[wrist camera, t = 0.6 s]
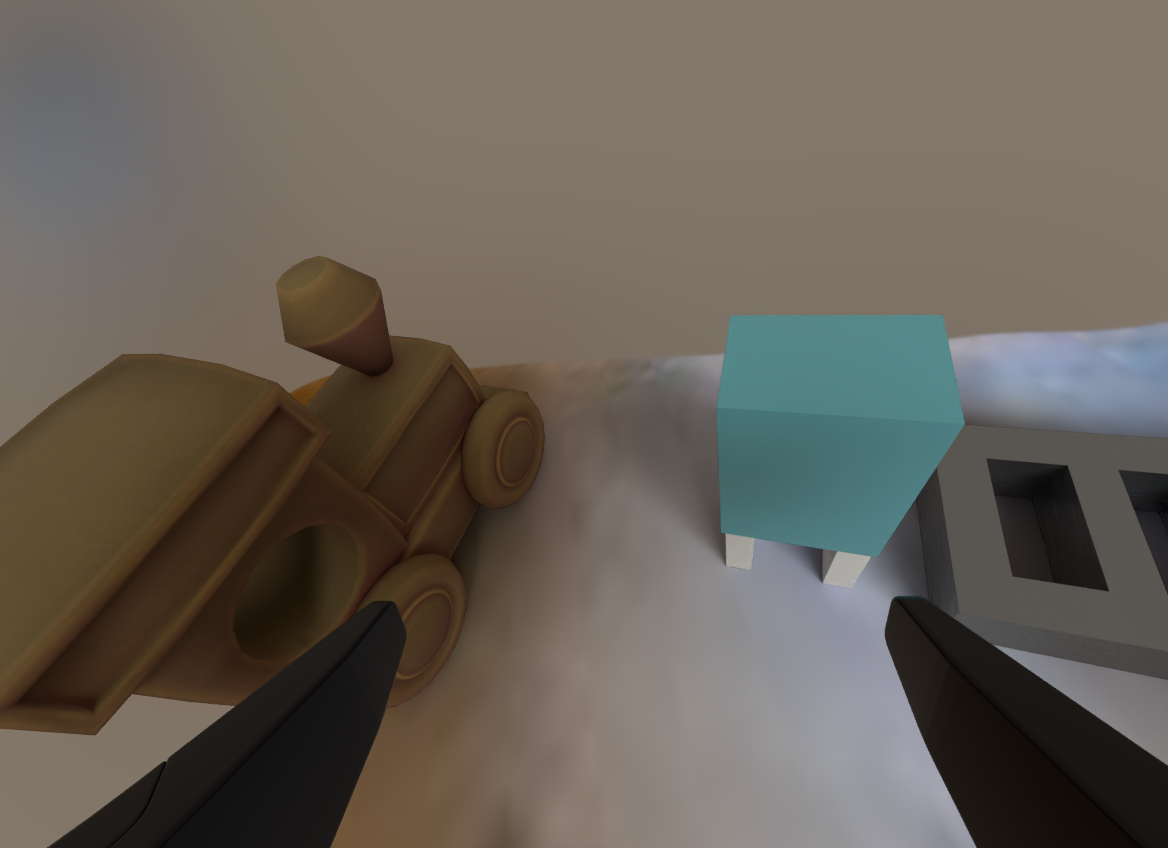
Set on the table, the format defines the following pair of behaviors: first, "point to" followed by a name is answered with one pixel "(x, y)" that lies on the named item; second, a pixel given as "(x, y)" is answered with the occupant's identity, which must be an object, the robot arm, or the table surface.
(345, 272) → the wooden toy train
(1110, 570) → the grey block with holes
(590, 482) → the table surface
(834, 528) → the clip
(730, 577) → the table surface
